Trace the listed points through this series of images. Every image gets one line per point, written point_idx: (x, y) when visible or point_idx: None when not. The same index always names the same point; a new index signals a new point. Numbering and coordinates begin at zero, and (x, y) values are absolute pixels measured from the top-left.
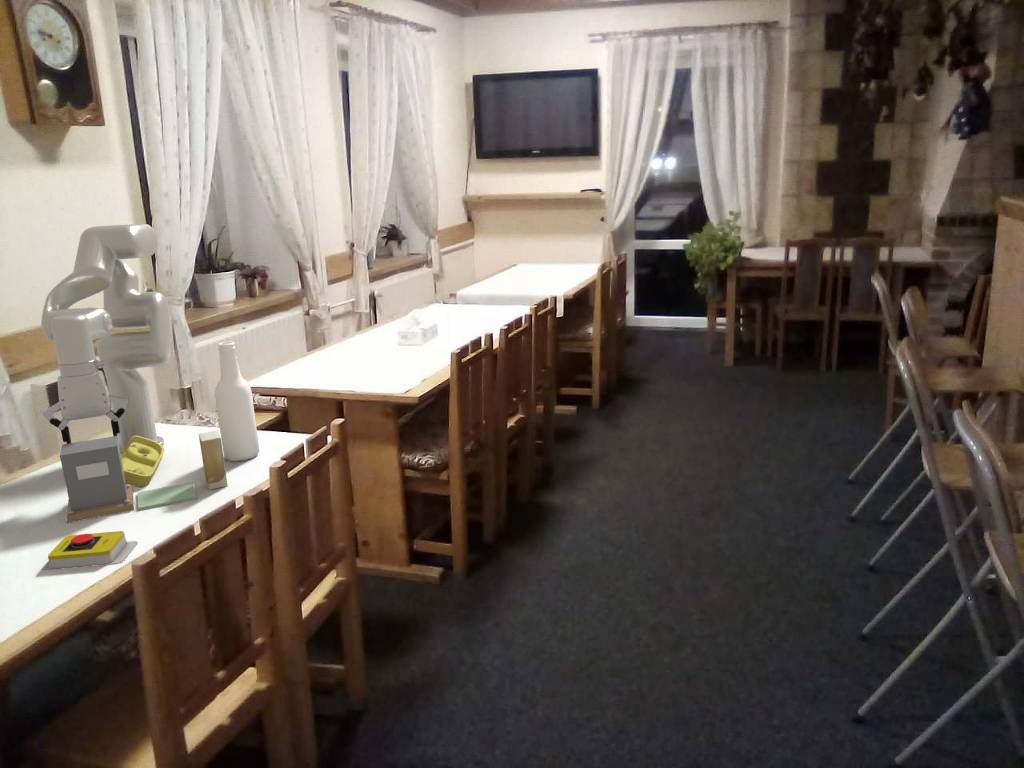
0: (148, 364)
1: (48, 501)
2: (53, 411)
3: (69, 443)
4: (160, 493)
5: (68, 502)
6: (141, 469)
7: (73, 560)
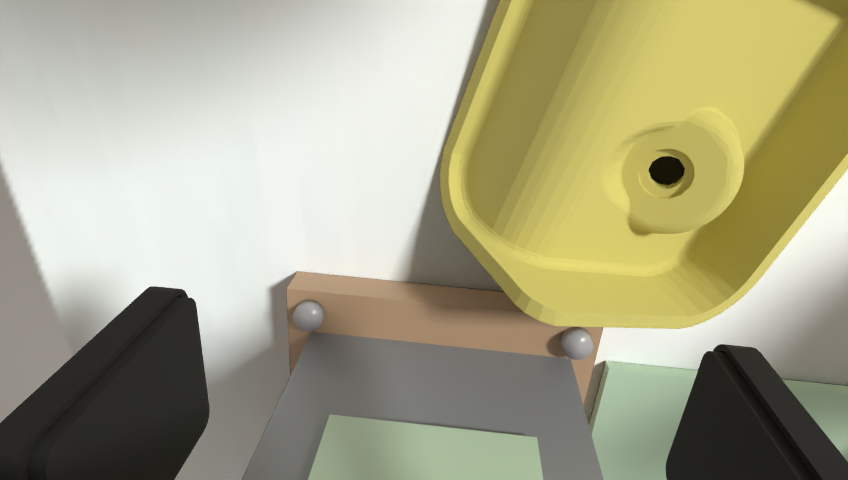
0: None
1: (183, 172)
2: None
3: (191, 436)
4: None
5: (291, 359)
6: (726, 201)
7: None
